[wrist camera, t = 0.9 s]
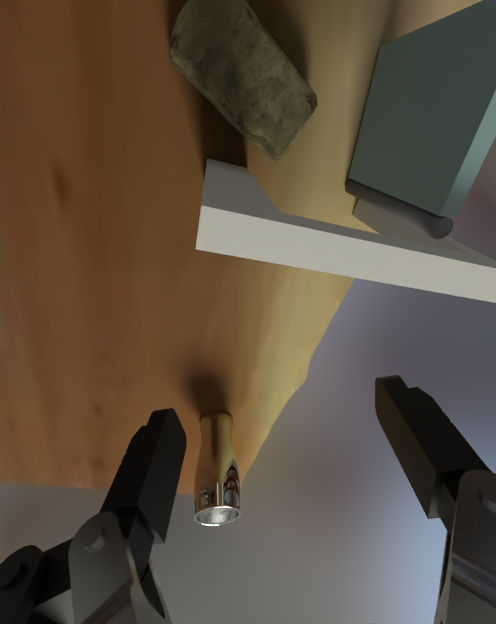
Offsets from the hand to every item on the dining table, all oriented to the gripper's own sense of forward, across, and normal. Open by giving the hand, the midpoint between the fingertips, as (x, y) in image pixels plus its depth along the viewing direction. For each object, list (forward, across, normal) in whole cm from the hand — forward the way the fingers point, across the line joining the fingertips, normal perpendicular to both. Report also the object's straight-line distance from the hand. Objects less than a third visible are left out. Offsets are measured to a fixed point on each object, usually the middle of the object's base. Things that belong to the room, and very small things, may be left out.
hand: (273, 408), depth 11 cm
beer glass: (+28, +14, +31) cm, 44 cm away
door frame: (+24, -6, -5) cm, 25 cm away
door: (+24, -12, -9) cm, 28 cm away
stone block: (+22, -1, -15) cm, 27 cm away
